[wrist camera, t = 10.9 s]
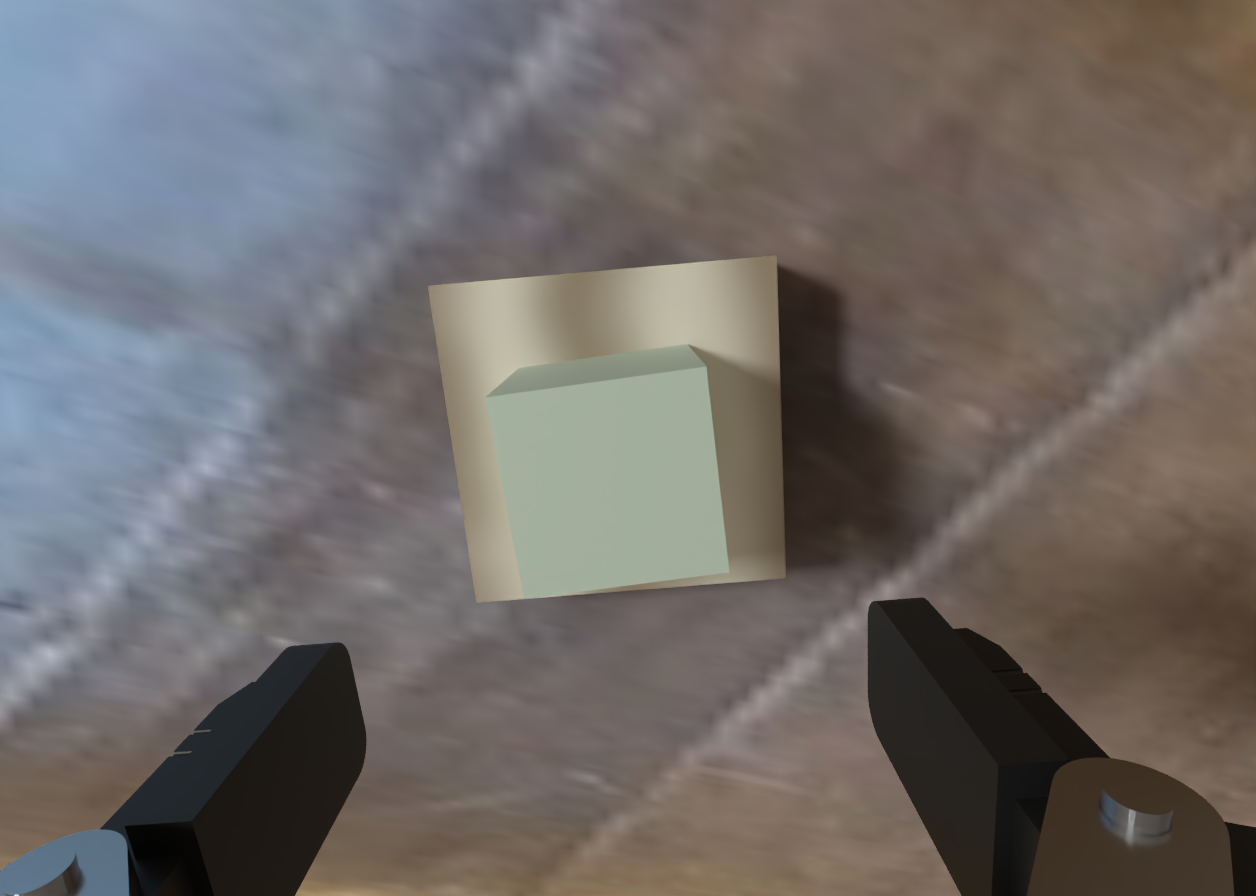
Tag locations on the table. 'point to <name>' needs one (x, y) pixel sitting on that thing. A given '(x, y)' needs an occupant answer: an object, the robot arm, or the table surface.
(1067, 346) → the table surface
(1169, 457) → the table surface
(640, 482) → the sage block
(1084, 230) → the table surface
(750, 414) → the birch block
